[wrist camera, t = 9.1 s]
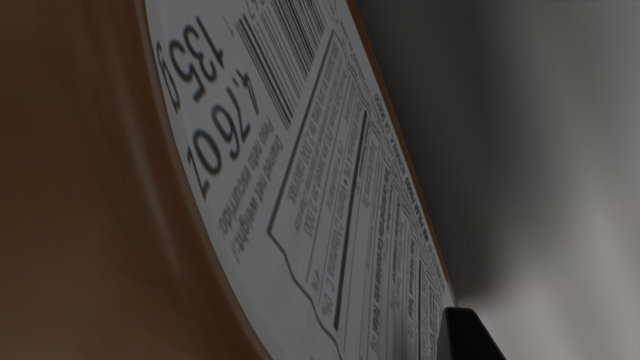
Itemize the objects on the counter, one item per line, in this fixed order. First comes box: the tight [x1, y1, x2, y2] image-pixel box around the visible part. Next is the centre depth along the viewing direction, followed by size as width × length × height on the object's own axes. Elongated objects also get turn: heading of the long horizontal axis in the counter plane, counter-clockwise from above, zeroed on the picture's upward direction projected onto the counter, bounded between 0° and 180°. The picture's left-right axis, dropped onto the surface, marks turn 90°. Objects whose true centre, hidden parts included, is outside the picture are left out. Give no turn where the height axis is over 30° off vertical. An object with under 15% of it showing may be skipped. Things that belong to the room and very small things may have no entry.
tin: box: [0, 0, 458, 360], centre depth 9 cm, size 15×3×8 cm, turn 21°
